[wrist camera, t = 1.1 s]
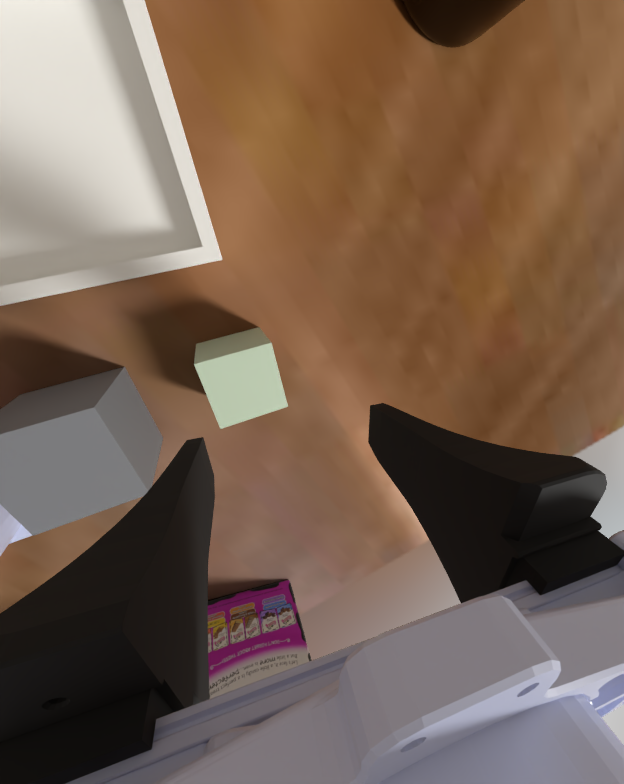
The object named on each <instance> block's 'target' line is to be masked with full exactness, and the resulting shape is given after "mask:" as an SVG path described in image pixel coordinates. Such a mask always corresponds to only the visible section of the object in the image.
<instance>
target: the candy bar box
mask: <svg viewBox="0 0 624 784" xmlns="http://www.w3.org/2000/svg"><path fill="white" fill-rule="evenodd" d="M309 661H311V657H310V653H309V650H308V646H307V643H306V639H305V635H304V631H303V628H302V624H301V621H300V617H299V613H298V609H297V606H296V602H295V598H294V594H293V590H292V587H291V583H290V581H289V580H285V581H281V582H277V583H273V584H270V585H266V586H262V587H258V588H255V589H251V590H247V591H244V592H240V593H236V594H233V595H229V596H225V597H222V598H218V599H214V600H211V601H208V663H209V694H210V699H211V698H214V697H216V696H219V695H222V694H224V693H227V692H230V691H232V690H235V689H238V688H240V687H243V686H246V685H248V684H251V683H254V682H256V681H259V680H262V679H264V678H267V677H269V676H272V675H275V674H277V673H280V672H283V671H285V670H288V669H291V668H293V667H296V666H299V665H301V664H304V663H307V662H309Z"/></svg>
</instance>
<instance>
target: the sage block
mask: <svg viewBox="0 0 624 784" xmlns="http://www.w3.org/2000/svg"><path fill="white" fill-rule="evenodd" d="M194 366H195V368H196V370H197V373H198V375H199V378H200V380H201V383H202V385H203V387H204V390H205V392H206V395H207V397H208V400H209V402H210V404H211V407H212V409H213V412H214V414H215V417H216V419H217V421H218V424H219V426H220V429H222V428H225V427H228V426H231V425H234V424H237V423H240V422H243V421H246V420H249V419H252V418H255V417H258V416H261V415H264V414H267V413H270V412H273V411H276V410H279V409H282V408H285V407H288V405H287V401H286V397H285V393H284V389H283V386H282V382H281V378H280V374H279V370H278V366H277V362H276V359H275V355H274V351H273V347H272V343H271V342H270V340H269V339H268V338H267V336H266V335H265V334H264V333H263V331H262V330H261V329H260V328H259V327H258V328H254V329H250V330H246V331H243V332H239V333H235V334H231V335H228V336H224V337H220V338H216V339H212V340H209V341H205V342H201V343H197V344H196V350H195V359H194Z"/></svg>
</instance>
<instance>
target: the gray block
mask: <svg viewBox="0 0 624 784" xmlns="http://www.w3.org/2000/svg"><path fill="white" fill-rule="evenodd" d="M162 441H163V437H162V435H161V433H160V431H159V429H158V428H157V426H156V424H155V422H154V420H153V418H152V417H151V415H150V413H149V411H148V409H147V407H146V405H145V404H144V402H143V400H142V398H141V396H140V394H139V393H138V391H137V389H136V387H135V385H134V383H133V381H132V380H131V378H130V376H129V374H128V372H127V370H126V369H125V367H122V368H118V369H114V370H111V371H107V372H103V373H99V374H96V375H92V376H88V377H84V378H81V379H77V380H73V381H69V382H66V383H62V384H58V385H54V386H51V387H47V388H43V389H39V390H36V391H32V392H28V393H24V394H21V395H19V396H18V397H16V398H15V399H14V400H12V401H11V402H10V403H8V404H7V405H6V406H4V407H3V408H1V409H0V504H1V505H2V506H3V507H4V508H5V509H6V510H7V511H8V512H9V513H10V514H11V515H12V516H13V517H14V518H15V519H16V520H17V521H18V522H19V523H20V524H21V525H22V526H23V527H24V528H25V529H26V530H28V531H29V532H30V533H31V534H32V535H33V536H34V535H36V534H39V533H42V532H45V531H48V530H50V529H53V528H56V527H59V526H61V525H64V524H67V523H70V522H73V521H75V520H78V519H81V518H84V517H87V516H89V515H92V514H95V513H98V512H100V511H103V510H106V509H109V508H112V507H114V506H117V505H120V504H123V503H125V502H128V501H131V500H134V499H137V498H139V497H142V496H144V495H145V494H146V493H147V492H148V491H149V490H150V488H151V487H152V483H153V479H154V475H155V471H156V466H157V462H158V458H159V454H160V449H161V445H162Z"/></svg>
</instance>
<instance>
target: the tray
mask: <svg viewBox="0 0 624 784" xmlns="http://www.w3.org/2000/svg"><path fill="white" fill-rule="evenodd" d="M219 260H222V257H221V253H220V250H219V247H218V243H217V240H216V237H215V233H214V230H213V227H212V223H211V220H210V217H209V213H208V210H207V207H206V203H205V200H204V197H203V193H202V190H201V187H200V183H199V180H198V177H197V173H196V170H195V167H194V163H193V160H192V157H191V153H190V150H189V147H188V144H187V140H186V137H185V134H184V130H183V127H182V124H181V120H180V117H179V114H178V110H177V107H176V104H175V100H174V97H173V94H172V90H171V87H170V84H169V80H168V77H167V74H166V70H165V67H164V64H163V60H162V57H161V54H160V50H159V47H158V44H157V40H156V37H155V34H154V30H153V27H152V24H151V21H150V17H149V14H148V11H147V7H146V4H145V1H144V0H0V306H2V305H7V304H12V303H17V302H21V301H26V300H31V299H36V298H41V297H45V296H50V295H55V294H60V293H65V292H70V291H74V290H79V289H84V288H89V287H94V286H98V285H103V284H108V283H113V282H118V281H123V280H127V279H132V278H137V277H142V276H147V275H151V274H156V273H161V272H166V271H171V270H176V269H180V268H185V267H190V266H195V265H200V264H204V263H209V262H214V261H219Z"/></svg>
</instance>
